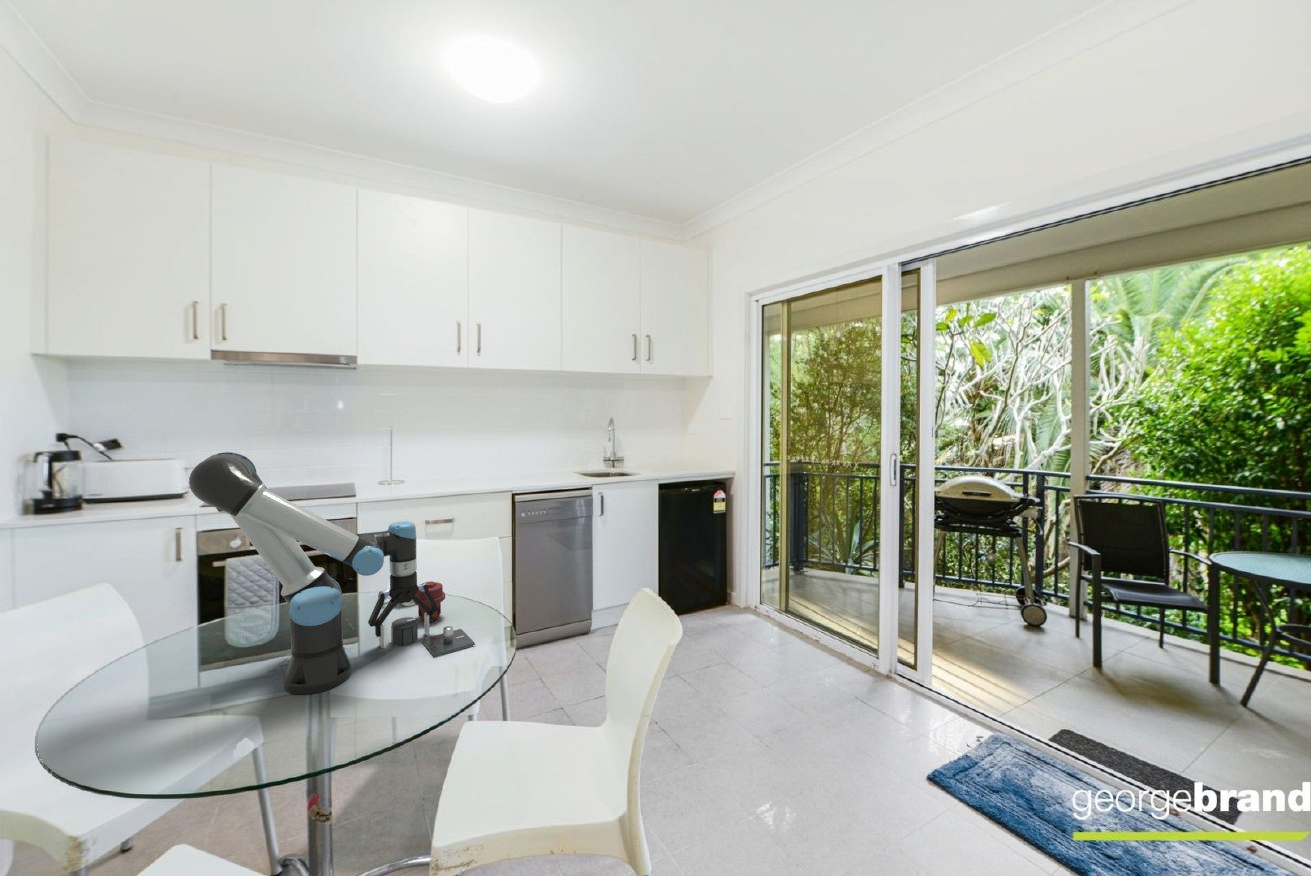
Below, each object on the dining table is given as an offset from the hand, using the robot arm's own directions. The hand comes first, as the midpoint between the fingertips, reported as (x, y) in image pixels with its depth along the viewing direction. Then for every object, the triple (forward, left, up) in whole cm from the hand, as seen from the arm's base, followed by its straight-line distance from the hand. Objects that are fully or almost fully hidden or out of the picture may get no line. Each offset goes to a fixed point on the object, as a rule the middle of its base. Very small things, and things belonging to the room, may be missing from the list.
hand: (404, 640), depth 167 cm
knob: (0, 0, 0) cm, 0 cm away
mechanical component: (+11, +12, 0) cm, 16 cm away
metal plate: (+10, -10, 0) cm, 14 cm away
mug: (+7, +32, 0) cm, 33 cm away
